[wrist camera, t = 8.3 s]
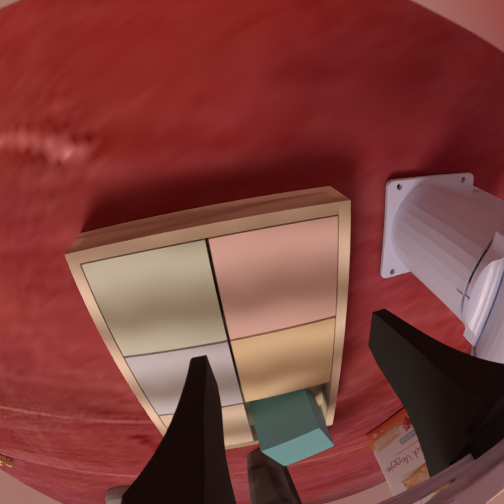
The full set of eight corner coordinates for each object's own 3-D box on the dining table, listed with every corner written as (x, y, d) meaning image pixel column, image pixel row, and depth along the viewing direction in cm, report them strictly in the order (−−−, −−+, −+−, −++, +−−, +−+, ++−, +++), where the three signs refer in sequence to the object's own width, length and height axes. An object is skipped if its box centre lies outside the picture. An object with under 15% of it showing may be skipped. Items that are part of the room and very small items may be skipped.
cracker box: (438, 375, 35) (511, 486, 16) (448, 384, 37) (512, 482, 19) (362, 435, 38) (413, 547, 19) (379, 439, 40) (427, 538, 22)
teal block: (298, 373, 26) (319, 427, 21) (315, 397, 28) (334, 445, 23) (248, 396, 26) (261, 451, 21) (270, 417, 29) (284, 466, 23)
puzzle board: (79, 233, 18) (64, 254, 15) (329, 185, 19) (350, 200, 17) (176, 432, 29) (177, 455, 27) (323, 403, 31) (332, 424, 28)
